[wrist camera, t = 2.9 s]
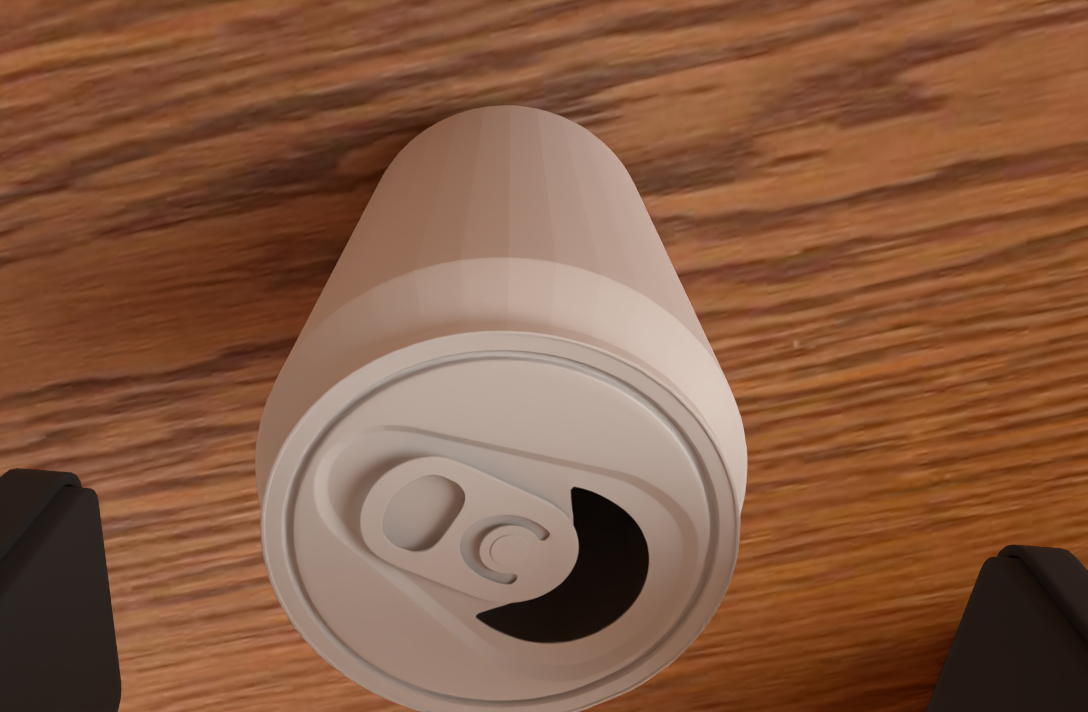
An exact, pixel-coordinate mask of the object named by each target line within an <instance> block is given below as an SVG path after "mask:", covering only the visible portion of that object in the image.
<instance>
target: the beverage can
mask: <svg viewBox="0 0 1088 712" xmlns="http://www.w3.org/2000/svg"><path fill="white" fill-rule="evenodd" d="M255 471H256V486H257V492H258V498H259V504H260V508H261V526H260V529H261V545H262V551H263V557H264V563H265V566H266V570H267V573H268V577H269V580H270V583H271V585H272V588H273V590H274V593H275V595H276V597H277V599H278V601H279V603H280V605H281V607H282V609H283V611H284V612H285V614H286V615H287V617H288V618H289V620H290V622H291V623H292V625H293V626H294V627H295V629H296V630H297V631H298V632H299V634H300V635H301V636H302V638H303V639H304V640H305V641H306V642H307V643H308V644H309V645H310V646H311V647H312V648H313V650H314V651H315V652H316V653H318V654H319V655H320V656H321V657H322V658H323V659H324V660H325V661H326V662H327V663H329V664H330V665H331V666H332V667H334V668H335V669H336V670H338V671H339V672H340V673H342V674H343V675H344V676H346V677H347V678H349V679H351V680H352V681H354V682H355V683H357V684H358V685H360V686H362V687H364V688H365V689H367V690H369V691H371V692H373V693H375V694H377V695H379V696H381V697H383V698H385V699H387V700H390V701H392V702H395V703H397V704H400V705H402V706H405V707H408V708H411V709H414V710H417V711H421V712H579V711H582V710H585V709H587V708H590V707H593V706H595V705H598V704H600V703H603V702H605V701H608V700H610V699H612V698H615V697H617V696H620V695H622V694H624V693H626V692H628V691H631V690H633V689H635V688H636V687H638V686H640V685H642V684H643V683H645V682H646V681H648V680H649V679H651V678H652V677H654V676H655V675H657V674H658V673H659V672H661V671H662V670H664V669H665V668H666V667H668V666H669V665H670V664H671V663H672V662H674V661H675V660H676V659H677V658H678V657H679V656H680V655H681V654H682V653H683V652H684V651H685V650H686V649H688V648H689V646H690V645H691V644H692V643H693V642H694V641H695V640H696V639H697V637H698V636H699V635H700V634H701V632H702V631H703V630H704V629H705V627H706V626H707V624H708V623H709V622H710V620H711V619H712V617H713V616H714V614H715V613H716V611H717V609H718V607H719V606H720V604H721V602H722V600H723V598H724V596H725V594H726V591H727V589H728V587H729V585H730V582H731V579H732V576H733V572H734V568H735V564H736V561H737V556H738V550H739V539H740V513H741V509H742V505H743V501H744V496H745V490H746V478H747V448H746V441H745V434H744V429H743V424H742V420H741V416H740V413H739V410H738V408H737V405H736V402H735V399H734V397H733V394H732V392H731V389H730V387H729V384H728V382H727V380H726V378H725V376H724V374H723V372H722V370H721V367H720V365H719V363H718V361H717V359H716V357H715V355H714V353H713V350H712V348H711V346H710V344H709V342H708V340H707V338H706V335H705V333H704V331H703V329H702V327H701V325H700V323H699V321H698V318H697V316H696V314H695V312H694V310H693V308H692V306H691V304H690V301H689V299H688V297H687V295H686V293H685V291H684V289H683V287H682V284H681V282H680V280H679V278H678V276H677V274H676V272H675V270H674V267H673V265H672V263H671V261H670V259H669V257H668V255H667V252H666V250H665V248H664V246H663V244H662V242H661V240H660V238H659V235H658V233H657V231H656V229H655V227H654V225H653V223H652V221H651V218H650V216H649V214H648V212H647V210H646V208H645V206H644V204H643V201H642V199H641V197H640V195H639V193H638V191H637V189H636V187H635V184H634V182H633V181H632V179H631V177H630V175H629V174H628V172H627V170H626V169H625V167H624V166H623V164H622V163H621V161H620V160H619V159H618V158H617V157H616V155H615V154H614V153H613V152H612V151H611V150H610V149H609V148H608V147H607V146H606V145H605V144H604V143H603V142H602V141H601V140H600V139H598V138H597V137H596V136H595V135H593V134H592V133H591V132H589V131H588V130H587V129H585V128H583V127H582V126H580V125H578V124H576V123H574V122H573V121H570V120H568V119H566V118H564V117H562V116H559V115H556V114H554V113H551V112H548V111H544V110H540V109H536V108H530V107H524V106H512V105H500V106H488V107H481V108H476V109H471V110H468V111H464V112H461V113H458V114H455V115H453V116H450V117H448V118H446V119H444V120H442V121H440V122H438V123H436V124H434V125H432V126H431V127H429V128H428V129H426V130H424V131H423V132H422V133H420V134H419V135H417V136H416V137H415V138H414V139H413V140H411V141H410V142H409V143H408V144H407V145H406V146H405V147H404V148H403V149H402V150H401V151H400V152H399V153H398V154H397V156H396V157H395V158H394V160H393V161H392V162H391V164H390V165H389V167H388V168H387V170H386V171H385V173H384V174H383V176H382V178H381V180H380V182H379V184H378V185H377V187H376V189H375V191H374V193H373V195H372V197H371V199H370V201H369V203H368V205H367V207H366V208H365V210H364V212H363V214H362V216H361V218H360V220H359V222H358V224H357V226H356V228H355V230H354V231H353V233H352V235H351V237H350V239H349V241H348V243H347V245H346V247H345V249H344V251H343V253H342V254H341V256H340V258H339V260H338V262H337V264H336V266H335V268H334V270H333V272H332V274H331V276H330V278H329V279H328V281H327V283H326V285H325V287H324V289H323V291H322V293H321V295H320V297H319V299H318V301H317V302H316V304H315V306H314V308H313V310H312V312H311V314H310V316H309V318H308V320H307V322H306V324H305V325H304V327H303V329H302V331H301V333H300V335H299V337H298V339H297V341H296V343H295V345H294V347H293V348H292V350H291V352H290V354H289V356H288V358H287V360H286V362H285V364H284V366H283V368H282V370H281V371H280V373H279V375H278V377H277V379H276V381H275V384H274V386H273V388H272V390H271V393H270V395H269V397H268V400H267V402H266V405H265V408H264V410H263V414H262V418H261V422H260V426H259V431H258V436H257V442H256V451H255Z"/></svg>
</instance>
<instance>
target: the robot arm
mask: <svg viewBox="0 0 1088 712" xmlns="http://www.w3.org/2000/svg"><path fill="white" fill-rule="evenodd" d="M120 699H121V678H120V670H119V662H118V654H117V646H116V638H115V630H114V622H113V614H112V606H111V598H110V590H109V582H108V574H107V566H106V558H105V550H104V542H103V534H102V526H101V518H100V510H99V502H98V498H97V494H96V493H95V491H94V490H92V489H91V488H82V486H81V482H80V480H79V478H78V477H77V475H75V474H73V473H71V472H59V471H46V470H32V469H19V468H16V469H11V470H9V471H8V472H6V473H5V474H4V475H3V476H2V477H1V478H0V712H118V708H119V704H120ZM926 712H1088V571H1087V569H1086V568H1085V567H1084V566H1083V565H1082V564H1081V563H1080V561H1079V560H1078V559H1077V558H1076V557H1075V556H1074V555H1073V554H1072V553H1070V552H1069V551H1068V550H1064V549H1061V548H1050V547H1037V546H1024V545H1009V546H1006V547H1004V548H1003V549H1002V550H1001V551H1000V552H999V554H998V556H997V557H991V558H989V559H988V560H986V561H985V562H984V564H983V566H982V568H981V570H980V573H979V575H978V578H977V581H976V583H975V586H974V588H973V591H972V594H971V596H970V599H969V601H968V604H967V606H966V609H965V612H964V614H963V617H962V619H961V622H960V624H959V627H958V630H957V632H956V635H955V637H954V640H953V642H952V645H951V648H950V650H949V653H948V655H947V658H946V660H945V663H944V666H943V668H942V671H941V673H940V676H939V678H938V681H937V684H936V686H935V689H934V691H933V694H932V696H931V699H930V702H929V704H928V707H927V709H926Z"/></svg>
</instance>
